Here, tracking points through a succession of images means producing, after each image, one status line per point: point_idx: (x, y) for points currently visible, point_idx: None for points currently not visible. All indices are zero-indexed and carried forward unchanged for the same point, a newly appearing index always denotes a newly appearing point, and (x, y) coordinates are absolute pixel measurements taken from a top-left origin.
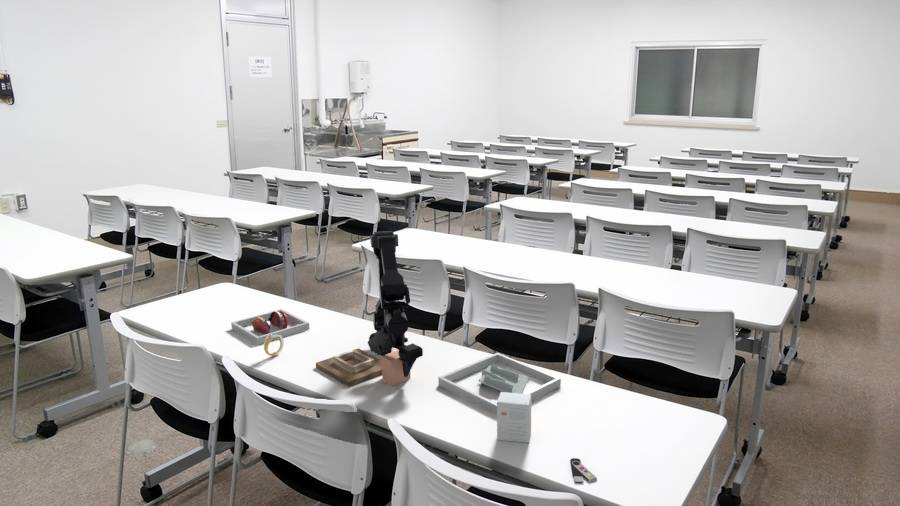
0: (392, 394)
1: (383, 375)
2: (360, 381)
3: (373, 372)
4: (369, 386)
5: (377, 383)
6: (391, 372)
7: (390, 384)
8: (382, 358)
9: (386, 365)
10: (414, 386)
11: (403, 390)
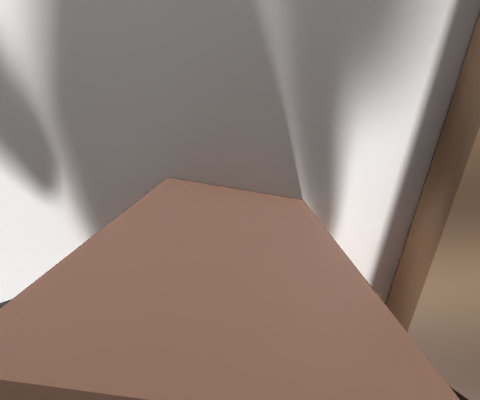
0: (32, 50)
1: (297, 215)
2: (474, 45)
3: (448, 218)
4: (331, 35)
5: (307, 133)
6: (117, 220)
7: (186, 182)
8: (405, 375)
9: (232, 272)
10: (15, 279)
11: (23, 173)
